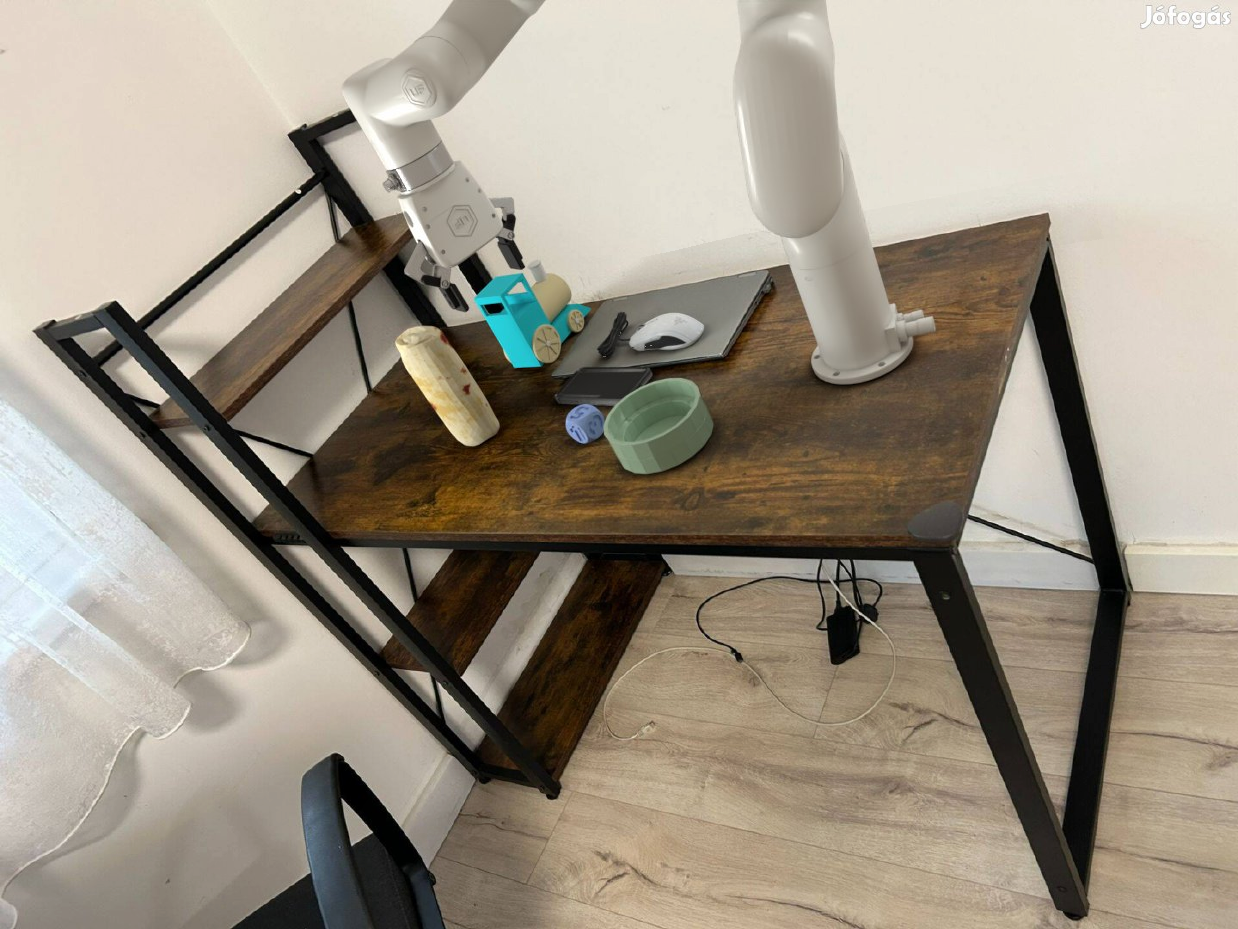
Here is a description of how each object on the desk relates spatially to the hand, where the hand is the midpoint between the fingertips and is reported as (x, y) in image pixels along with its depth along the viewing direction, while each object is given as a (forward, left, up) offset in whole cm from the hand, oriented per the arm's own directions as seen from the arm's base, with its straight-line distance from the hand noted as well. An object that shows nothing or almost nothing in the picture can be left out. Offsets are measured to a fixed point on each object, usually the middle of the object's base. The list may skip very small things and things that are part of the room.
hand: (491, 288), depth 114 cm
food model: (+18, -3, -24) cm, 30 cm away
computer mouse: (-9, -19, -24) cm, 32 cm away
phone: (-3, -8, -24) cm, 26 cm away
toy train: (+12, -27, -24) cm, 38 cm away
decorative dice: (-4, +3, -24) cm, 25 cm away
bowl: (-17, +8, -24) cm, 31 cm away
